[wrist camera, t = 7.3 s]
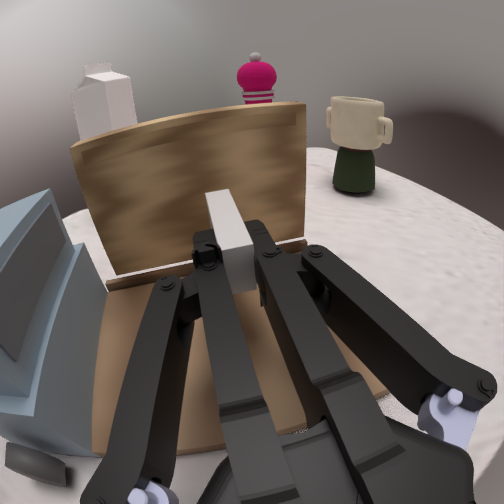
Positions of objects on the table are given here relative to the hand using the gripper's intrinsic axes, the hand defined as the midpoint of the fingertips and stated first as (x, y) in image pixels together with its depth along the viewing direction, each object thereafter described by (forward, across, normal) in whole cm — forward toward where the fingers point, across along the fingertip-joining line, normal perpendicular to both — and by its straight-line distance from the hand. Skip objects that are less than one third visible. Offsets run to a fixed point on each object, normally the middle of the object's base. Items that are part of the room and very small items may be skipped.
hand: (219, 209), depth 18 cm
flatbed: (-5, -2, -8) cm, 9 cm away
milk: (+22, -12, -8) cm, 26 cm away
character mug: (+15, +20, -8) cm, 26 cm away
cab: (-5, -15, -8) cm, 17 cm away
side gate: (+3, -1, -5) cm, 6 cm away
